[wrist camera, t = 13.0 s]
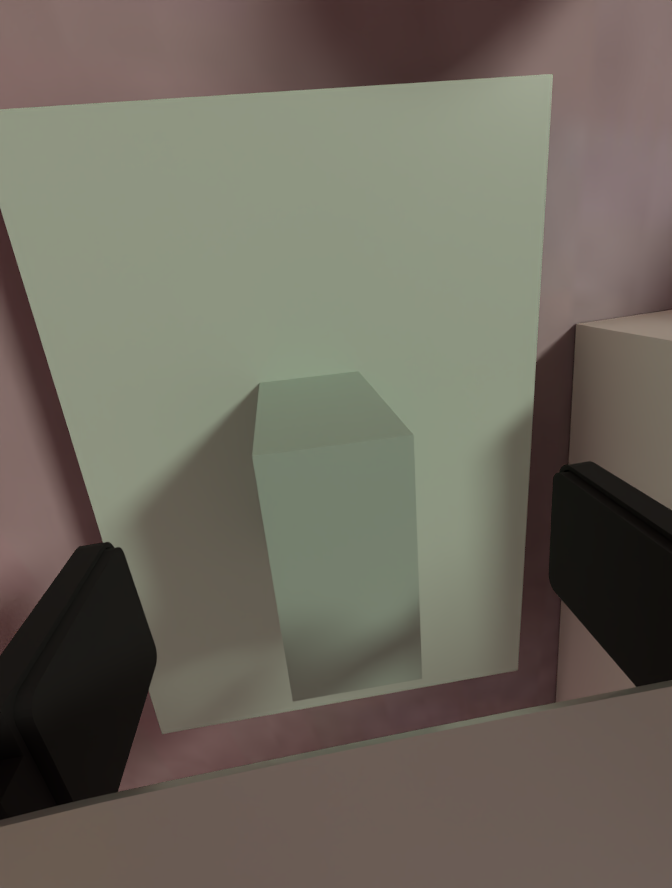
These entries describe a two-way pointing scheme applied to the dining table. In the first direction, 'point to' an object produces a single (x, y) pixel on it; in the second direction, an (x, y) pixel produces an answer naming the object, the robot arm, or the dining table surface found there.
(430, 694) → the dining table surface
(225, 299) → the lid
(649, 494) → the tub
